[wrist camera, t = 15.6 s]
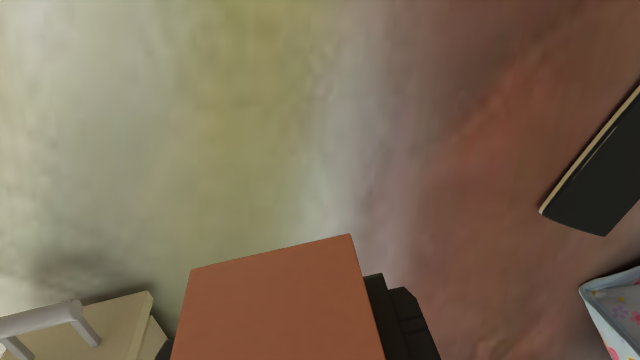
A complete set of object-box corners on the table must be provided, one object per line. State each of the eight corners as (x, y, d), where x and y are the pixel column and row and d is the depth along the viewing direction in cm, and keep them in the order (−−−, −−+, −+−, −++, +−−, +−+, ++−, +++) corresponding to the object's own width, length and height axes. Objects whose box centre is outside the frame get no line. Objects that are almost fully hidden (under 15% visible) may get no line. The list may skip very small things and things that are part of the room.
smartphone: (540, 218, 33) (688, 43, 26) (532, 210, 34) (672, 39, 27) (603, 239, 35) (753, 83, 28) (594, 231, 36) (737, 78, 29)
